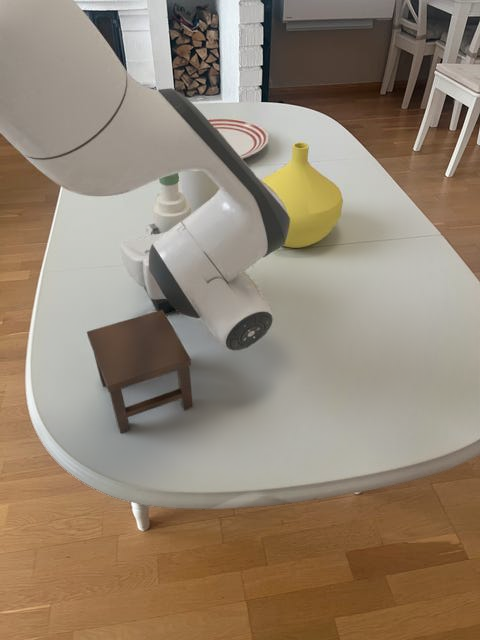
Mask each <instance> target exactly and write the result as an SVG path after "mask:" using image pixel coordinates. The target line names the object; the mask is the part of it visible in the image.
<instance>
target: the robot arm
mask: <svg viewBox="0 0 480 640" xmlns="http://www.w3.org/2000/svg"><path fill="white" fill-rule="evenodd" d="M110 45H111V44H109V43H108V41H107V40H106V38H104V36H103V35H102V33H101V32H100V30H99V29H98V28H97V26H96V25H95V24H94V23H93V21H92V20H91V19H90V18H89V17H88V14H86V13H85V12H84V10H83V9H82V8H81V7H80V6H79V5H78V3H77V2H76V1H75V0H0V134H1V135H2V136H3V137H4V138H5V139H6V140H7V141H8V142H9V143H10V144H11V145H12V146H13V147H14V148H15V149H16V150H17V151H18V152H19V153H20V154H21V155H22V156H23V157H24V158H25V159H26V160H27V161H28V162H29V163H30V164H32V165H33V166H34V167H35V168H36V169H37V170H38V171H40V172H41V173H42V174H43V175H45V177H47V178H48V179H50V180H51V181H52V182H54V183H55V184H56V185H58V186H59V187H61V188H63V189H65V190H67V191H69V192H71V193H74V194H77V195H81V196H87V197H100V198H101V197H113V196H119V195H124V194H127V193H130V192H133V191H136V190H138V189H140V188H142V187H145V186H147V185H148V184H151V183H153V182H155V181H159V179H161V178H164V177H166V176H169V175H172V174H176V173H178V174H180V172H184V171H189V170H200V171H203V172H204V173H205V174H206V175H207V176H208V177H209V178H210V179H211V180H212V181H213V182H214V183H215V184H216V185H217V186H218V187H219V190H218V192H217V193H216V194H215V195H214V196H213V197H212V198H211V199H210V200H209V201H207V202H206V203H205V204H203V205H202V206H201V207H200V208H198V209H197V210H196V211H194V212H193V213H192V214H190V215H189V216H188V217H187V218H185V219H184V220H183V221H182V222H181V221H180V222H179V223H178V224H177V225H175V226H174V227H173V228H171V229H170V230H169V231H167V232H164V233H160V234H158V227H157V226H156V225H155V222H154V223H150V224H146V225H145V229H146V233H145V236H144V237H139V238H136V239H131V240H127V241H124V242H123V243H122V244H121V246H120V255H121V259H122V263H123V266H124V268H125V270H126V271H127V273H128V274H129V276H130V277H131V278H132V279H133V281H135V283H136V284H138V285H139V286H141V287H143V288H144V287H146V289H147V292H148V293H147V292H146V293H147V295H148V297H149V299H150V298H151V299H167V300H168V302H169V303H170V304H171V305H172V306H173V307H174V308H175V309H176V310H177V311H176V312H178V313H180V314H181V315H183V316H187V317H191V318H194V319H200V320H201V322H202V323H203V324H204V325H205V327H206V329H208V330H209V332H210V333H211V335H212V336H214V338H215V339H216V340H217V341H218V342H219V343H220V344H221V345H222V346H223V347H224V348H226V349H227V350H229V351H233V352H234V351H235V352H236V351H241V350H244V349H248V348H250V347H251V346H252V345H254V344H256V343H257V342H258V341H260V340H261V339H262V338H263V337H265V335H266V334H267V333H268V332H269V330H270V329H271V327H272V325H273V323H274V315H273V311H272V310H271V308H270V306H269V304H268V302H267V300H266V299H265V297H264V294H262V292H261V290H260V288H259V287H258V286H257V285H256V283H255V282H254V280H253V279H252V278H251V276H249V274H248V273H247V272H246V271H247V270H248V269H250V267H252V266H253V265H255V264H256V263H257V262H258V261H260V260H261V259H263V258H265V257H267V256H269V255H270V254H271V253H273V252H275V251H276V250H278V249H279V248H281V247H284V246H283V245H284V244H285V241H286V238H287V234H288V230H289V225H290V217H289V216H288V212H287V209H286V207H285V205H284V203H283V202H282V200H281V199H280V197H279V196H278V195H277V194H276V193H275V192H274V190H273V189H271V188H270V187H269V186H268V185H267V184H266V183H264V182H263V181H261V179H260V178H259V177H257V175H256V174H255V172H254V171H253V170H252V168H250V166H249V165H248V164H247V162H246V161H244V159H242V158H241V157H240V156H239V154H238V153H237V152H236V151H235V150H234V149H233V147H232V146H231V145H230V144H229V143H228V141H227V140H226V139H225V138H224V137H223V135H222V134H221V133H220V132H219V131H218V130H217V129H216V128H214V127H213V125H212V124H211V123H210V122H209V121H208V120H207V119H208V118H207V117H206V116H205V115H204V114H203V112H201V110H199V108H197V106H196V105H195V104H194V103H192V102H191V100H189V99H188V98H187V97H186V96H185V95H183V94H182V93H180V92H179V91H177V90H175V89H174V88H171V87H169V88H162V89H161V88H160V89H153V88H150V87H148V86H146V85H144V84H142V83H140V82H138V80H136V79H135V78H133V77H132V75H131V74H130V73H129V72H128V71H127V69H126V68H125V65H123V63H122V61H121V60H120V59H119V57H118V55H117V54H116V53H115V51H114V50H113V48H112V47H111V46H110ZM182 223H183V224H184V225H185V226H184V225H183V224H182ZM151 299H150V300H151Z"/></svg>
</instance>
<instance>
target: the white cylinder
mask: <svg viewBox="0 0 480 640" xmlns="http://www.w3.org/2000/svg"><path fill="white" fill-rule="evenodd" d="M179 182H180V193H182V194H183V195H184V196H185V200H186V201H188V202H189V203H190V206H191V214H192V213H193V212H194V211H196V210H197V209H198V208H200V207H201V206H202V205H203V204H205V203H206V202H207V201H209V200H210V199H211V198H212V197H213V196H214V195H215V194H216V193H217V192H218V190H219V189H220V188H219V187H218V186H217V185H216V184H215V183H214V182H213V181H212V180H211V179H210V178H209V177H208V176H207V175H206V174H205V173H204V172H203V171H200V170H189V171H184V172H179Z"/></svg>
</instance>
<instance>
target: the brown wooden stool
mask: <svg viewBox="0 0 480 640" xmlns="http://www.w3.org/2000/svg"><path fill="white" fill-rule="evenodd" d="M86 335H87V338H88V341H89V344H90V347H91V349H92V352H93V356H94V359H95V364H96V367H97V370H98V375H99V379H100V382H101V385H102V387H103V388H104V387H106V389H107V392H108V393H109V397H110V400H111V401H110V402H111V405H112V408H113V413H114V416H115V420H116V425H117V427H118V430H119V433H120V434H123V433H126V432H129V431H131V425H130V422H129V418H130V417H133V416H136V415H138V414H141V413H144V412H147V411H151V410H152V409H156V408H159V407H161V406H164V405H167V404H170V403H173V402H175V401H178V400H179V402H180V406H181V408H182V409H183V411H186V410H189V409H192V408H194V404H193V393H192V379H191V370H190V369H191V368H190V367H191V366H192V360H191V359H192V358H191V357H190V355H189V354H188V351H187V349H186V348H185V346H184V345H183V343H182V341H181V340H180V337H179V336H178V334H177V332H176V331H175V328H174V326H173V325H172V324H171V322H170V319H169V318H168V317H167V314H165V313H164V311H163V310H159V311H157V310H156V311H152V312H149V313H146V314H142V315H139V316H135V317H132V318H129V319H126V320H122V321H118V322H115V323H111V324H108V325H105V326H102V327H101V326H100V327H98V328H95V329H91V330H88V331H86ZM172 372H176V375H177V384H178V389H175V390H171V391H168V392H166V393H162V394H160V395H157V396H154V397H151V398H148V399H146V400H143V401H140V402H137V403H134V404H132V405H128V406H126V404H125V398H124V395H123V390H122V389H124V388H127V387H130V386H133V385H136V384H139V383H143V382H145V381H148V380H151V379H154V378H157V377H160V376H163V375H166V374H169V373H172Z"/></svg>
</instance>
